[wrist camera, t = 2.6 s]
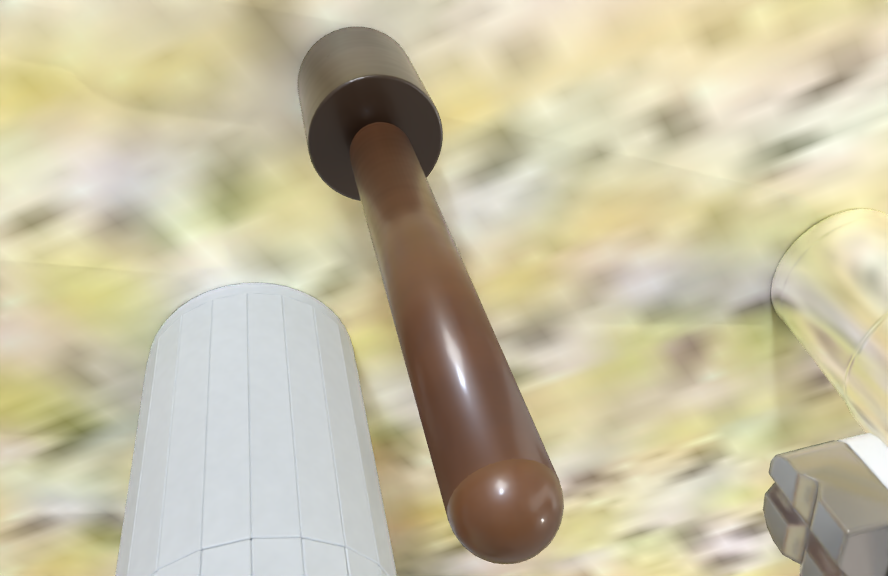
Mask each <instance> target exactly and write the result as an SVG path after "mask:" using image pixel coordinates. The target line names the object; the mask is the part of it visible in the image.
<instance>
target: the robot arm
mask: <svg viewBox="0 0 888 576" xmlns="http://www.w3.org/2000/svg"><path fill="white" fill-rule="evenodd" d="M769 474H770V476H771V477H772V479H773V480H774V481H775V483H774V484H773V485H772V486H771V488H770V489H769V490H768V491H767V492H766V493H765V498H764V506H763V511H764V516H765V520H766V525H767V528H768V530H769V533H770V535H771V537H772V539H773V541H774V543H775V544H776V546H777V547H778V549H779V550H780V552H781V553H782V555H784V556H786V557H788V558H790V559H792V560H793V561H795V562H797V563H799V564H800V576H888V447H887V446H886V445H885V444H884V443H883V441H882V440H881V439H880V438H878V437H877V436H875V435H873V434H871V433H866V434H861V435H857V436H853V437H849V438H845V439H841V440H837V441H829V442H825V443H821V444H817V445H813V446H809V447H805V448H802V449H798V450H794V451H790V452H786V453H782V454H778V455H776V456H775V457H774V458H773V459H772V460H771V463H770V468H769Z"/></svg>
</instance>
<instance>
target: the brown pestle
mask: <svg viewBox="0 0 888 576" xmlns="http://www.w3.org/2000/svg"><path fill="white" fill-rule="evenodd" d="M298 94H299V100H300V105H301V111H302V117H303V122H304V128H305V134H306V139H307V145H308V151H309V155H310V159H311V162H312V164H313V166H314V168H315V170H316V172H317V173H318V175H319V176H320V177H321V179H322V180H323V181H324V182H325V183H326V184H327V185H328V186H329V187H331V188H332V189H333V190H335V191H336V192H338V193H340V194H342V195H344V196H346V197H349V198H351V199H355V200H359V201H361V203H362V206H363V210H364V214H365V217H366V221H367V225H368V228H369V232H370V236H371V239H372V243H373V247H374V250H375V254H376V258H377V261H378V265H379V269H380V272H381V276H382V280H383V283H384V287H385V290H386V294H387V298H388V301H389V305H390V309H391V312H392V316H393V320H394V323H395V327H396V331H397V334H398V338H399V342H400V345H401V349H402V353H403V356H404V360H405V364H406V367H407V371H408V375H409V378H410V382H411V386H412V389H413V393H414V397H415V400H416V404H417V408H418V411H419V415H420V419H421V422H422V426H423V430H424V433H425V437H426V440H427V444H428V448H429V451H430V455H431V459H432V462H433V466H434V470H435V473H436V477H437V481H438V484H439V488H440V492H441V495H442V499H443V503H444V506H445V510H446V514H447V517H448V521H449V523H450V526H451V528H452V531H453V532H454V534H455V535H456V537H457V538H458V540H459V541H460V542H461V544H462V545H463V546H464V547H465V548H466V549H468V550H469V551H470V552H471V553H473V554H474V555H475V556H477V557H479V558H481V559H484V560H486V561H489V562H492V563H498V564H514V563H520V562H523V561H526V560H528V559H531V558H533V557H534V556H536V555H537V554H539V553H540V552H541V551H542V550H544V549H545V548H546V547H547V546H548V545H549V544H550V543H551V541H552V540H553V538H554V537H555V535H556V533H557V531H558V529H559V527H560V524H561V521H562V516H563V509H564V502H563V493H562V488H561V485H560V482H559V479H558V477H557V474H556V472H555V470H554V468H553V465H552V463H551V461H550V459H549V456H548V454H547V452H546V449H545V447H544V445H543V443H542V440H541V438H540V436H539V434H538V431H537V429H536V427H535V424H534V422H533V420H532V418H531V415H530V413H529V411H528V409H527V406H526V404H525V402H524V399H523V397H522V395H521V393H520V390H519V388H518V386H517V384H516V381H515V379H514V377H513V374H512V372H511V370H510V368H509V365H508V363H507V361H506V359H505V356H504V354H503V352H502V349H501V347H500V345H499V343H498V340H497V338H496V336H495V334H494V331H493V329H492V327H491V324H490V322H489V320H488V318H487V315H486V313H485V311H484V309H483V306H482V304H481V302H480V299H479V297H478V295H477V293H476V290H475V288H474V286H473V283H472V281H471V279H470V277H469V274H468V272H467V270H466V268H465V265H464V263H463V261H462V258H461V256H460V254H459V252H458V249H457V247H456V245H455V243H454V240H453V238H452V236H451V233H450V231H449V229H448V227H447V224H446V222H445V220H444V218H443V215H442V213H441V211H440V208H439V206H438V204H437V202H436V199H435V197H434V195H433V193H432V190H431V188H430V186H429V183H428V181H427V179H426V177H427V176H428V175H429V174H430V172H431V171H432V169H433V168H434V166H435V164H436V162H437V160H438V157H439V155H440V151H441V147H442V139H443V131H442V124H441V119H440V116H439V113H438V111H437V109H436V107H435V105H434V103H433V101H432V100H431V98H430V96H429V94H428V92H427V91H426V89H425V87H424V85H423V83H422V81H421V80H420V78H419V76H418V74H417V72H416V71H415V69H414V67H413V65H412V63H411V62H410V60H409V58H408V56H407V55H406V53H405V52H404V50H403V49H402V48H401V46H400V45H399V44H398V43H397V42H396V41H394V40H393V39H392V38H391V37H389V36H388V35H386V34H384V33H382V32H380V31H377V30H374V29H371V28H365V27H348V28H343V29H339V30H336V31H334V32H331V33H330V34H328V35H326V36H324V37H323V38H321V39H320V40H319V41H318V42H317V43H315V44H314V45H313V46H312V48H311V49H310V50H309V51H308V53H307V54H306V56H305V58H304V60H303V62H302V64H301V67H300V71H299V75H298Z"/></svg>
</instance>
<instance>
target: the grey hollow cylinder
mask: <svg viewBox="0 0 888 576" xmlns="http://www.w3.org/2000/svg"><path fill="white" fill-rule="evenodd" d="M115 576H397V572H396V567H395V562H394V557H393V552H392V546H391V541H390V536H389V531H388V526H387V521H386V515H385V510H384V505H383V500H382V495H381V490H380V484H379V479H378V474H377V469H376V464H375V458H374V453H373V448H372V443H371V438H370V433H369V427H368V422H367V417H366V412H365V407H364V401H363V396H362V391H361V386H360V381H359V376H358V370H357V365H356V361H355V355H354V350H353V346H352V342H351V339H350V336H349V334H348V332H347V330H346V328H345V326H344V325H343V324H342V322H341V321H340V319H339V318H338V317H337V316H336V315H335V314H334V313H333V312H332V310H330V309H329V308H328V307H327V306H325V305H324V304H323V303H322V302H320V301H318V300H317V299H315V298H314V297H312V296H310V295H308V294H306V293H303V292H301V291H299V290H296V289H293V288H289V287H286V286H281V285H276V284H268V283H242V284H234V285H228V286H224V287H220V288H216V289H214V290H211V291H208V292H206V293H203V294H201V295H199V296H197V297H195V298H193V299H191V300H190V301H188V302H187V303H185V304H184V305H182V306H181V307H179V308H178V309H177V310H176V311H175V312H174V313H173V314H172V315H171V316H169V318H168V319H167V320H166V321H165V322H164V324H163V325H162V326H161V328H160V329H159V331H158V333H157V334H156V336H155V338H154V341H153V343H152V345H151V349H150V354H149V358H148V361H147V365H146V372H145V379H144V386H143V392H142V399H141V406H140V413H139V419H138V426H137V433H136V440H135V447H134V453H133V460H132V467H131V474H130V480H129V487H128V494H127V501H126V507H125V514H124V521H123V528H122V534H121V541H120V548H119V555H118V561H117V568H116V575H115Z"/></svg>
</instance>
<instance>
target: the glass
mask: <svg viewBox="0 0 888 576" xmlns="http://www.w3.org/2000/svg"><path fill="white" fill-rule="evenodd" d="M771 299H772V304H773V307H774V309H775V311H776V313H777V315H778V316H779V317H780V318H781V319H782V320H783V321H784V322H785V323H786V324H787V326H788V327H789V329H790V330H791V332H792V333H793V334H794V336H795V337H796V338H797V340H798V341H799V342H800V344H801V345H802V346H803V347H804V349H805V350H806V351H807V353H808V354H809V355H810V357H811V358H812V359H813V361H814V362H815V363H816V365H817V366H818V367H819V369H820V370H821V371H822V372H823V374H824V375H825V376H826V378H827V379H828V380H829V382H830V383H831V384H832V386H833V387H834V388H835V390H836V391H837V392H838V394H839V395H840V396H841V398H842V399H843V400H844V402H845V403H846V404H847V407H848V409H849V411H850V413H851V414H852V416H853V417H854V419H855V420H856V422H857V423H858V424H859V426H860V427H861V428H862V430H863V431H864V432H865V434H866V433H871V434H873V435H875V436H877V437H878V438H880V439H881V440H882V441H883V443H884V444H885V445H886V446H887V447H888V215H887V214H885V213H883V212H880V211H877V210H872V209H853V210H848V211H844V212H840V213H837V214H835V215H832V216H830V217H828V218H826V219H824V220H822V221H820V222H818V223H817V224H815V225H814V226H812V227H811V228H809V229H808V230H807V231H806V232H804V233H803V234H802V235H801V236H800V237H799V238H798V239H797V240H796V241H795V242H794V243H793V244H792V245H791V246H790V248H789V249H788V250H787V251H786V253H785V254H784V256H783V257H782V259H781V261H780V262H779V264H778V266H777V269H776V271H775V274H774V277H773V281H772V286H771Z"/></svg>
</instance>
